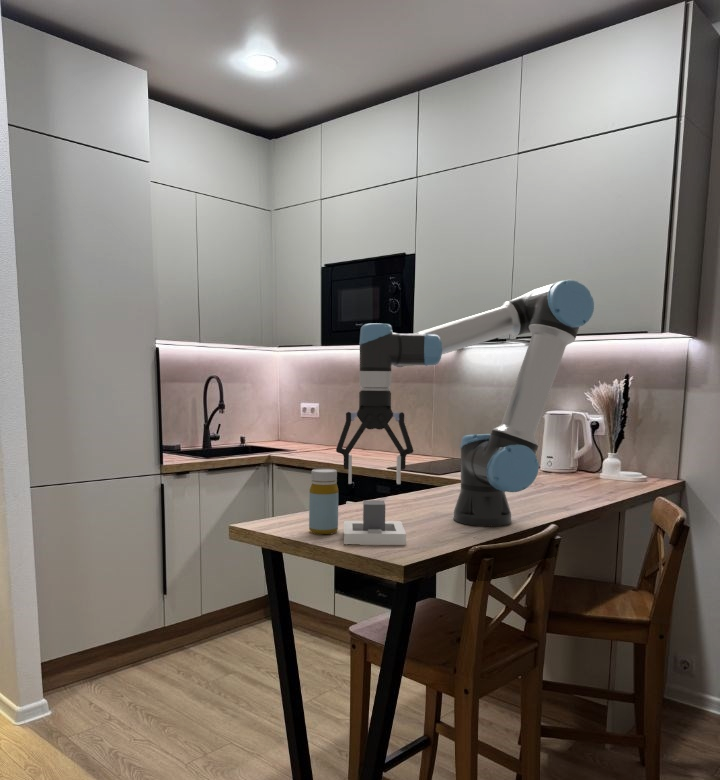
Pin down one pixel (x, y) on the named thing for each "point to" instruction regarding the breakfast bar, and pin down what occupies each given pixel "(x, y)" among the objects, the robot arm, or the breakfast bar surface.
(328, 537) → the breakfast bar surface
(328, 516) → the bottle
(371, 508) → the plug
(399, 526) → the socket plate
